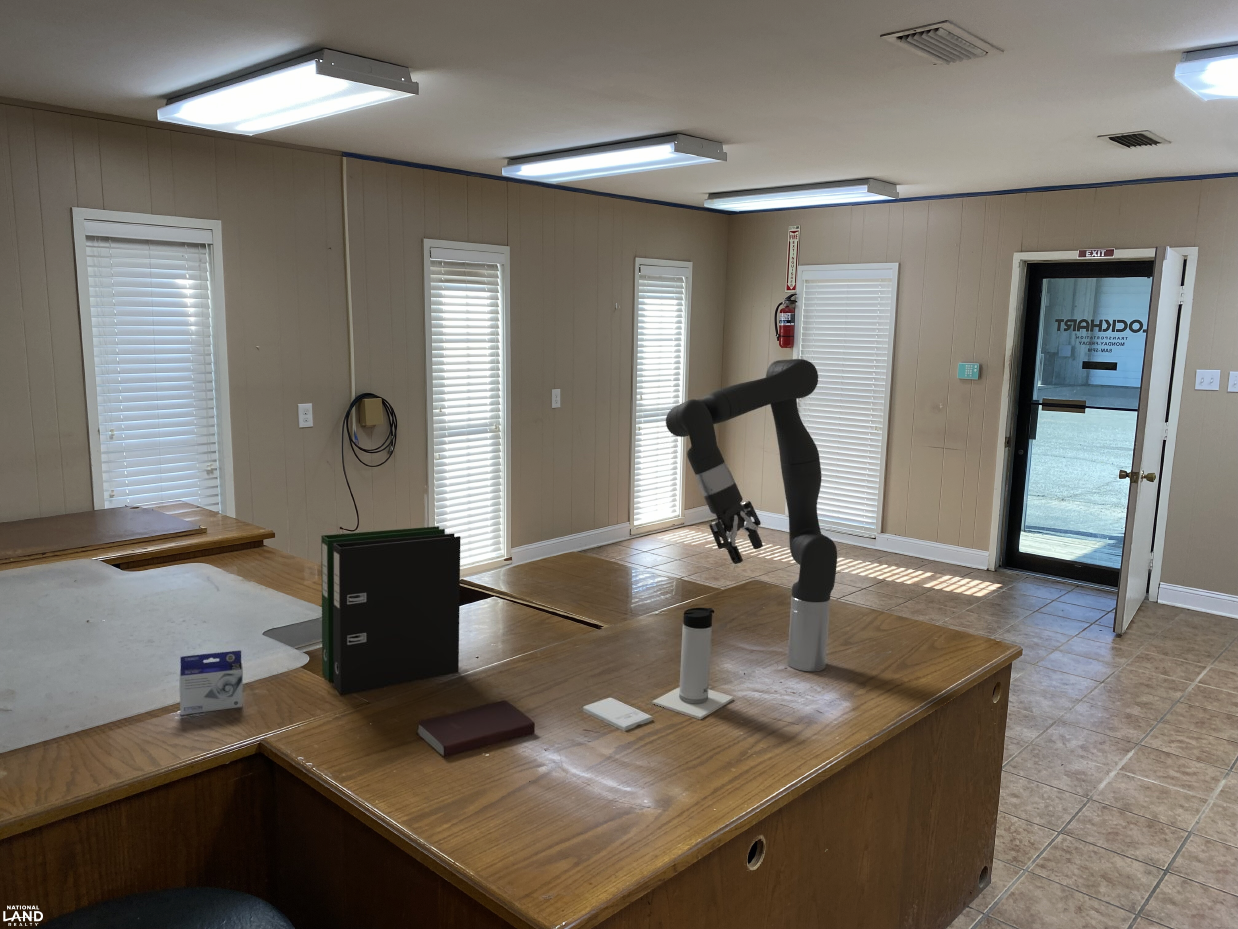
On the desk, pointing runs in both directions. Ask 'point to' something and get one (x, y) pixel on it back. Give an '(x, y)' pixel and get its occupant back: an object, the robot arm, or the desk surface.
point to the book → (475, 728)
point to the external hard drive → (617, 714)
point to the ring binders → (389, 607)
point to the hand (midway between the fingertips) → (749, 555)
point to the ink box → (210, 682)
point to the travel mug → (695, 655)
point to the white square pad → (693, 710)
